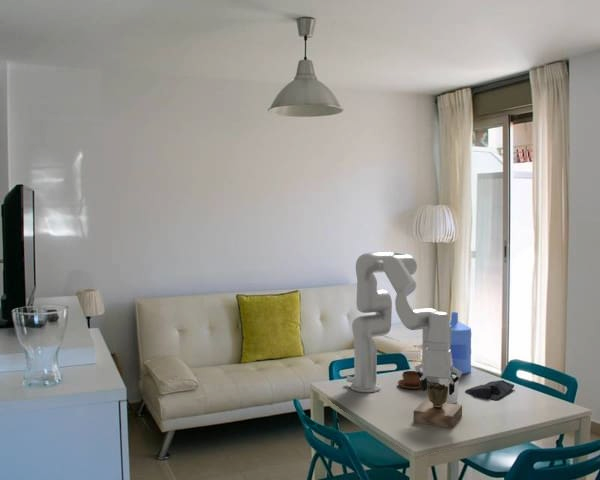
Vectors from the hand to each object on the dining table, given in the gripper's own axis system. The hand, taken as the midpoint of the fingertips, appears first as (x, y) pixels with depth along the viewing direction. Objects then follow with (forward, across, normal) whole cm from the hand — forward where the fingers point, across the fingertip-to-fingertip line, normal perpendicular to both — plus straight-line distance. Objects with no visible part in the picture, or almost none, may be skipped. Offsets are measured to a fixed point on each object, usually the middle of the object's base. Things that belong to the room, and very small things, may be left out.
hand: (437, 392), depth 211 cm
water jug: (+10, -12, +70) cm, 72 cm away
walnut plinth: (+10, 0, 0) cm, 10 cm away
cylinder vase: (+10, -15, +50) cm, 53 cm away
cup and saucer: (+10, -21, +34) cm, 42 cm away
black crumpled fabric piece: (+11, +11, +43) cm, 46 cm away
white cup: (+10, -2, +22) cm, 24 cm away
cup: (+6, 0, 0) cm, 6 cm away
